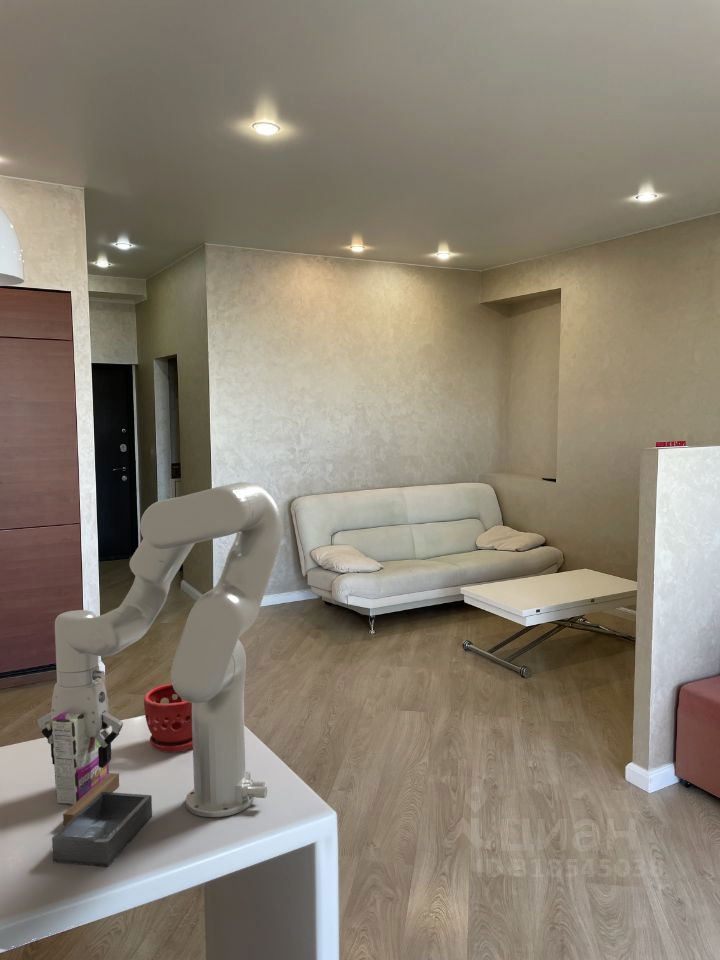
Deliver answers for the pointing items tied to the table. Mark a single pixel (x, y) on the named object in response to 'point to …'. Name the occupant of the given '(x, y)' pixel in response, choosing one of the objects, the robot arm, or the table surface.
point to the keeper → (102, 829)
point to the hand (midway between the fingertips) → (81, 763)
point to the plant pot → (168, 720)
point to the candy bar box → (74, 759)
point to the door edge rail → (92, 795)
